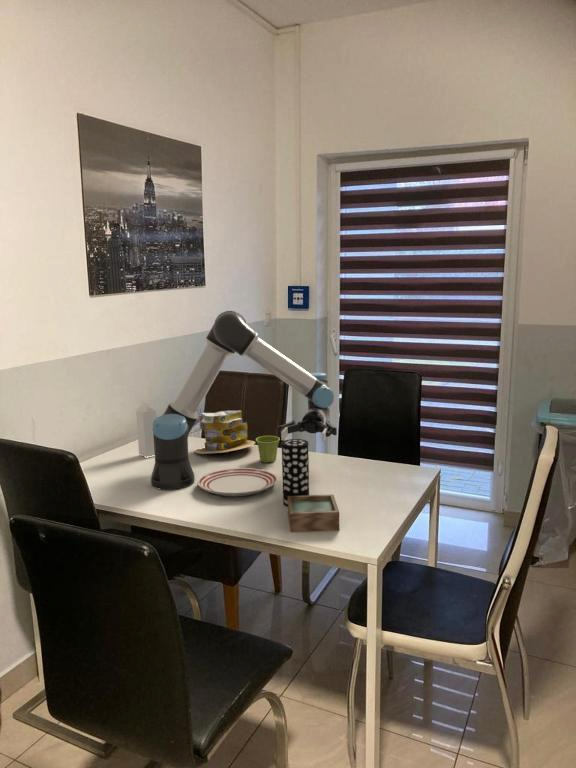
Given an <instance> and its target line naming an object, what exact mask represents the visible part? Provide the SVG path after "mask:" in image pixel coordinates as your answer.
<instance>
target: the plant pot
mask: <svg viewBox="0 0 576 768" xmlns="http://www.w3.org/2000/svg"><path fill="white" fill-rule="evenodd" d="M280 438H281V437H278V436H275V435H262V436H258V437H256V438H255V442H256V444H257V448H258V453H259V459H260V461H261V462H263V463H273V462H276V461H277V456H278V455H277V454H278V446H279V443H280V440H281V439H280Z"/></svg>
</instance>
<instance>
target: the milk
mask: <svg viewBox="0 0 576 768" xmlns="http://www.w3.org/2000/svg"><path fill="white" fill-rule="evenodd" d="M141 404H142V405H141V406H140V407H138V408H137V409H136V410H135V412H136V427H137V428H136V429H137V442H138V444H137V445H138V455H139V454H141V455H143V456H146V457H147V456H152V455H155V454H154V437H153V430H152V428H153V422H154V420H155V419H156V418H157V417H158V414H157V413H158V411H157V409H154V408H153V407H151V406H150V405H151V404H150V403H149V402H146V401H142V402H141Z"/></svg>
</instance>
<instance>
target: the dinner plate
mask: <svg viewBox="0 0 576 768" xmlns="http://www.w3.org/2000/svg"><path fill="white" fill-rule="evenodd" d="M278 481H279V479H278V476H277V475H276V474H275V473H273V472H271V471H268V470H264V469H260V468H253V467H252V468H251V467H235V468H234V467H233V468H226V469H225V468H224V469H219V470H215V471H210V472H207V473H205V474H203V475H202V476H200V477H198V479H197V481H196V482H197V485H198V487H199V488H200V489H202V490H204V491H206V492H209V493H211V494H212V493H213V494H215V495H219V494H220V495H219V496H223V495H225V497H244V496H250V495H254V494H257V493H260V492H264V491H265V490H267V489H269V488H271V487H273V486H274V485H275V484H276V483H277V482H278Z"/></svg>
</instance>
